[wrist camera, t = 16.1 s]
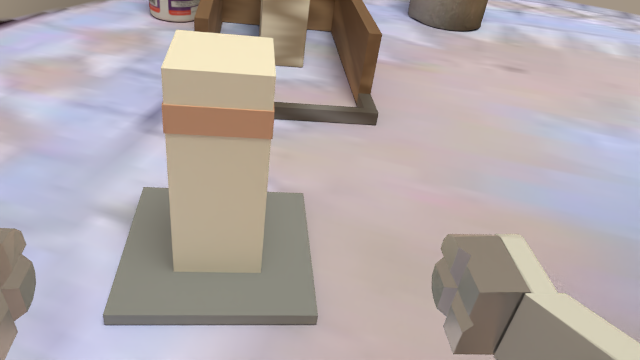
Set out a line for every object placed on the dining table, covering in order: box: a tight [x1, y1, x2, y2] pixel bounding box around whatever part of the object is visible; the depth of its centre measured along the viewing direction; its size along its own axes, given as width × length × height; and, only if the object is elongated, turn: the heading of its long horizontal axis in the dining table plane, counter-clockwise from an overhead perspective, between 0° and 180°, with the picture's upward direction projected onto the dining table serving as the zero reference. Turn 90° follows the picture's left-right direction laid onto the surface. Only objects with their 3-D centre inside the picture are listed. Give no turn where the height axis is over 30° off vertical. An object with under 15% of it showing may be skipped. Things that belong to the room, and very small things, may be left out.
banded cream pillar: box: [161, 30, 276, 273], centre depth 22 cm, size 4×4×10 cm
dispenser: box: [194, 0, 382, 125], centre depth 44 cm, size 14×22×10 cm, turn 6°
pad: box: [103, 187, 318, 325], centre depth 25 cm, size 9×9×1 cm
